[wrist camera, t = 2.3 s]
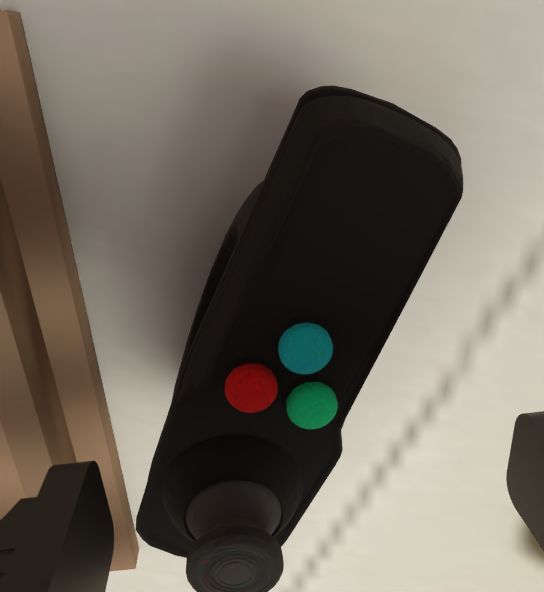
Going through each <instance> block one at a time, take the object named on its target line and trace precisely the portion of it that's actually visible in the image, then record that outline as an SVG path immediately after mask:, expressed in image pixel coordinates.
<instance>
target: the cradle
mask: <svg viewBox="0 0 544 592" xmlns="http://www.w3.org/2000/svg"><path fill="white" fill-rule="evenodd" d="M85 461H96V463H97V464H98V466H99V469H100V473H101V477H102V481H103V485H104V489H105V492H106V496H107V500H108V504H109V508H110V512H111V516H112V520H113V526H114V550H113V557H112V562H111V566H110V571H117V570H127V569H136V563H137V557H138V551H139V548H138V543H137V539H136V534H135V530H134V525H133V521H132V516H131V512H130V507H129V503H128V498H127V494H126V489H125V485H124V480H123V476H122V471H121V467H120V462H119V458H118V453H117V449H116V444H115V440H114V435H113V431H112V426H111V422H110V417H109V413H108V408H107V404H106V399H105V395H104V390H103V386H102V381H101V377H100V372H99V368H98V363H97V359H96V354H95V350H94V345H93V341H92V336H91V332H90V327H89V323H88V318H87V314H86V309H85V305H84V300H83V296H82V291H81V287H80V282H79V278H78V273H77V269H76V264H75V260H74V255H73V250H72V246H71V241H70V237H69V232H68V228H67V223H66V219H65V214H64V210H63V205H62V201H61V196H60V192H59V187H58V183H57V178H56V174H55V169H54V165H53V160H52V156H51V151H50V147H49V142H48V138H47V133H46V129H45V124H44V120H43V115H42V111H41V106H40V102H39V97H38V93H37V88H36V84H35V79H34V75H33V70H32V66H31V61H30V57H29V52H28V48H27V43H26V39H25V34H24V30H23V25H22V21H21V16H20V13H16V12H11V11H0V520H1V519H2V518H3V517H4V516H5V515H6V514H7V513H8V512H9V511H10V510H11V509H12V508H13V506H14V505H15V504H16V503H17V502H18V501H19V500H20V499H22V498H31V497H37V495H38V493H39V491H40V488H41V486H42V483H43V481H44V479H45V476H46V474H47V472H48V470H49V468H50V467H51V466H53V465H58V464H67V463H76V462H85Z"/></svg>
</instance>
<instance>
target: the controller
mask: <svg viewBox="0 0 544 592" xmlns="http://www.w3.org/2000/svg"><path fill="white" fill-rule="evenodd" d="M462 193H463V174H462V168H461V157H460V155H459V152H458V149H457V147H456V146H455V145H454V143H453V142H452V140H451V139H450V138H449V137H447V136H446V135H445V134H443V133H442V132H441V131H440V130H438V129H437V128H435V127H433V126H432V125H430V124H428V123H426V122H425V121H423V120H421V119H419V118H418V117H416V116H414V115H412V114H410V113H409V112H407V111H405V110H403V109H402V108H400V107H398V106H396V105H394V104H392V103H390V102H387V101H384V100H381V99H378V98H375V97H372V96H370V95H367V94H364V93H361V92H358V91H355V90H352V89H348V88H343V87H337V86H321V87H318V88H315V89H312V90H309V91H307V92H306V93H305V94H304V95H303V96H302V97H301V98H300V99H299V102H298V104H297V106H296V109H295V111H294V113H293V115H292V118H291V120H290V122H289V125H288V127H287V129H286V131H285V134H284V136H283V138H282V140H281V143H280V145H279V147H278V150H277V152H276V154H275V156H274V159H273V161H272V163H271V166H270V168H269V170H268V172H267V175H266V177H265V179H264V181H263V182H261V183H260V184H259V185H258V186H257V187H256V188H255V189H254V190H253V192H252V193H251V194H250V195H249V197H248V198H247V199H246V201H245V202H244V204H243V205H242V207H241V209H240V210H239V212H238V213H237V215H236V217H235V219H234V221H233V223H232V224H231V226H230V228H229V230H228V232H227V234H226V236H225V239H224V241H223V243H222V246H221V248H220V250H219V253H218V255H217V257H216V260H215V262H214V265H213V267H212V269H211V272H210V275H209V277H208V280H207V283H206V286H205V288H204V291H203V294H202V297H201V300H200V302H199V305H198V308H197V311H196V315H195V318H194V321H193V324H192V327H191V330H190V334H189V337H188V340H187V343H186V347H185V351H184V354H183V358H182V361H181V365H180V369H179V373H178V376H177V380H176V384H175V388H174V393H173V398H172V403H171V406H170V409H169V412H168V415H167V418H166V421H165V424H164V427H163V430H162V433H161V436H160V439H159V442H158V445H157V448H156V451H155V454H154V457H153V460H152V464H151V468H150V472H149V476H148V482H147V485H146V489H145V492H144V495H143V498H142V502H141V505H140V508H139V511H138V515H137V518H136V530H137V532H138V534H139V535H140V537H141V538H142V539H143V540H144V541H145V542H146V543H147V544H149V545H150V546H152V547H155V548H158V549H160V550H163V551H166V552H168V553H171V554H174V555H176V556H181V557H186V558H187V564H186V575H187V579H188V581H189V583H190V584H191V586H192V587H193V588H194V589H195V590H196V591H197V592H268V591H269V590H270V589H272V588H273V587H274V586H275V585H276V583H277V582H278V581H279V579H280V577H281V574H282V572H283V565H284V564H283V556H282V551H281V546H282V545H283V544H284V543H285V542H286V540H287V539H288V537H289V536H290V534H291V533H292V531H293V530H294V528H295V526H296V525H297V523H298V522H299V520H300V519H301V517H302V516H303V514H304V513H305V511H306V510H307V508H308V506H309V505H310V503H311V502H312V500H313V499H314V497H315V496H316V494H317V493H318V491H319V490H320V488H321V486H322V485H323V483H324V482H325V480H326V479H327V477H328V476H329V474H330V473H331V471H332V470H333V468H334V466H335V465H336V463H337V461H338V460H339V458H340V456H341V453H342V437H341V429H342V426H343V424H344V421H345V418H346V416H347V414H348V413H349V411H350V409H351V407H352V405H353V403H354V401H355V399H356V397H357V395H358V394H359V392H360V390H361V388H362V386H363V384H364V382H365V380H366V378H367V377H368V375H369V373H370V371H371V369H372V367H373V365H374V363H375V361H376V360H377V358H378V356H379V354H380V352H381V350H382V348H383V346H384V344H385V342H386V341H387V339H388V337H389V335H390V333H391V331H392V329H393V327H394V325H395V324H396V322H397V320H398V318H399V316H400V314H401V312H402V310H403V308H404V306H405V305H406V303H407V301H408V299H409V297H410V295H411V293H412V291H413V289H414V287H415V286H416V284H417V282H418V280H419V278H420V276H421V274H422V272H423V270H424V268H425V266H426V264H427V263H428V261H429V259H430V257H431V255H432V253H433V251H434V249H435V247H436V245H437V243H438V242H439V240H440V238H441V236H442V234H443V232H444V230H445V228H446V226H447V224H448V222H449V221H450V219H451V217H452V215H453V213H454V211H455V209H456V207H457V205H458V203H459V201H460V199H461V197H462Z"/></svg>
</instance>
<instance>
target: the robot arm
mask: <svg viewBox="0 0 544 592" xmlns="http://www.w3.org/2000/svg"><path fill="white" fill-rule="evenodd" d="M507 487H508V492H509V495H510V498H511V500H512V503H513V505H514V507H515V508H516V510H517V512H518V513H519V515H520V516H521V517H522V519H523V520H524V522H525V523H526V525H527V526H528V528H529V529H530V531H531V532H532V534H533V535H534V537H535V538H536V540H537V541H538V543H539V544H540V546H541V547H542V549H543V550H544V411H543V412H534V413H525V414H520V415H519V416H518V417H517V419H516V422H515V427H514V433H513V439H512V445H511V451H510V457H509V463H508V469H507ZM113 550H114V526H113V520H112V516H111V512H110V508H109V504H108V500H107V496H106V492H105V489H104V485H103V481H102V477H101V473H100V469H99V466H98V464H97V463H96V461H85V462H76V463H67V464H58V465H53V466H51V467H50V468H49V470H48V472H47V474H46V476H45V479H44V481H43V483H42V486H41V488H40V491H39V493H38V495H37V497H31V498H22V499H20V500H19V501H18V502H17V503H16V504H15V505H14V506H13V508H12V509H11V510H10V511H9V512H8V513H7V514H6V515H5V516H4V517H3V518H2V519H1V520H0V592H105V590H106V585H107V580H108V576H109V571H110V566H111V562H112V557H113Z"/></svg>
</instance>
